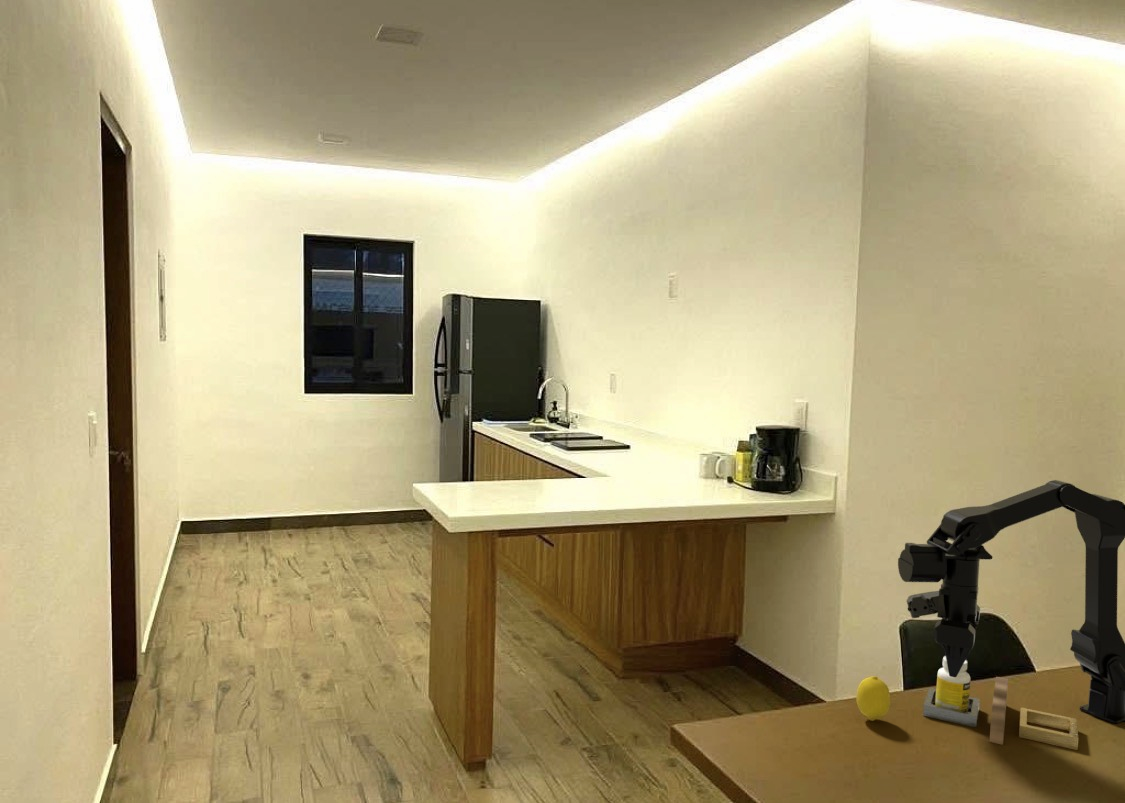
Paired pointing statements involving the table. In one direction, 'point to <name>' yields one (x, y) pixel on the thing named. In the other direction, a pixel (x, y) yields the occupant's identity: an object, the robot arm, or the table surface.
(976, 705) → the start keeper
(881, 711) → the lemon
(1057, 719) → the frame
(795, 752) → the table surface
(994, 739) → the brown wooden bar
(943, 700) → the supplement bottle
